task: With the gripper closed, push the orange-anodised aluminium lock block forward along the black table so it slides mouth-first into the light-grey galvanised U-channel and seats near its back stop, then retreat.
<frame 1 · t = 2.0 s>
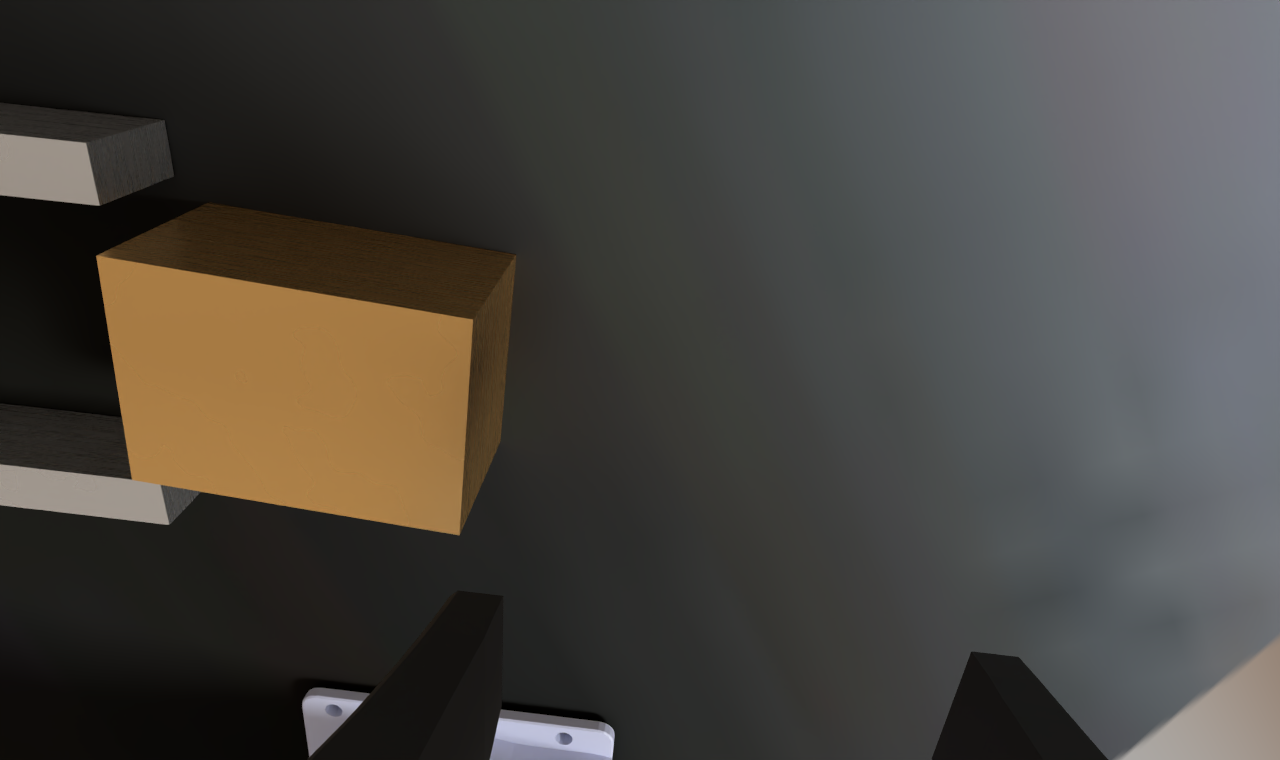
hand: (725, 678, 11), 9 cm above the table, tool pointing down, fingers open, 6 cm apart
lock block: (365, 326, 20), on the table
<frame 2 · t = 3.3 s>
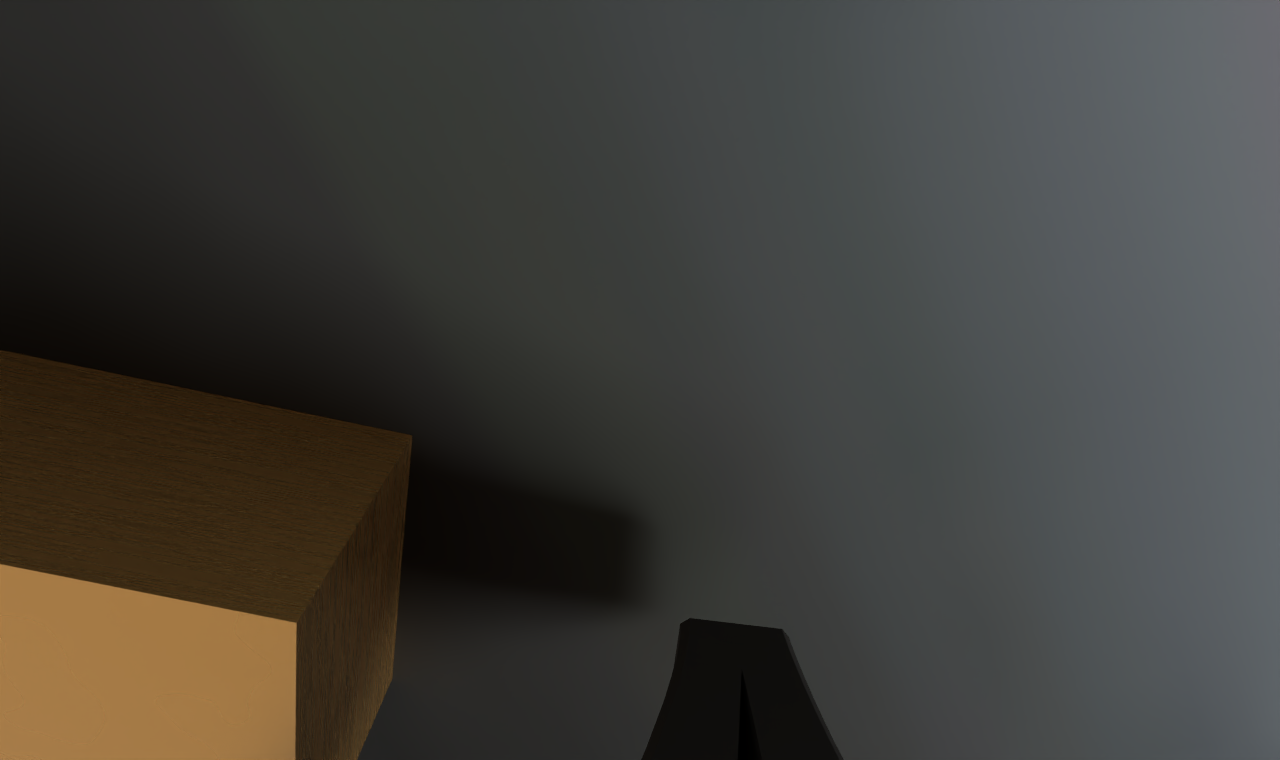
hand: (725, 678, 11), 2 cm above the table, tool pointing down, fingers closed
lock block: (188, 516, 13), on the table
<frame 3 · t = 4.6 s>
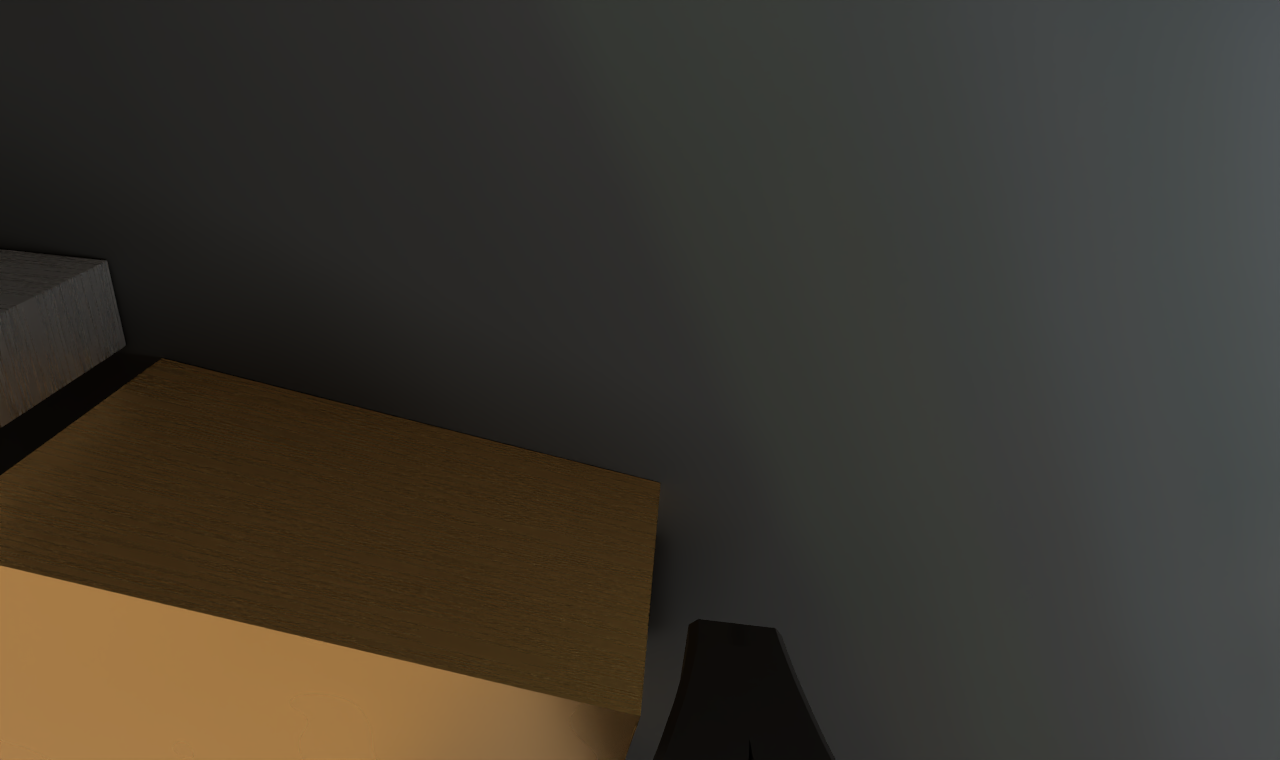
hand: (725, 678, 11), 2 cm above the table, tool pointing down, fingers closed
lock block: (395, 558, 12), on the table, touching gripper
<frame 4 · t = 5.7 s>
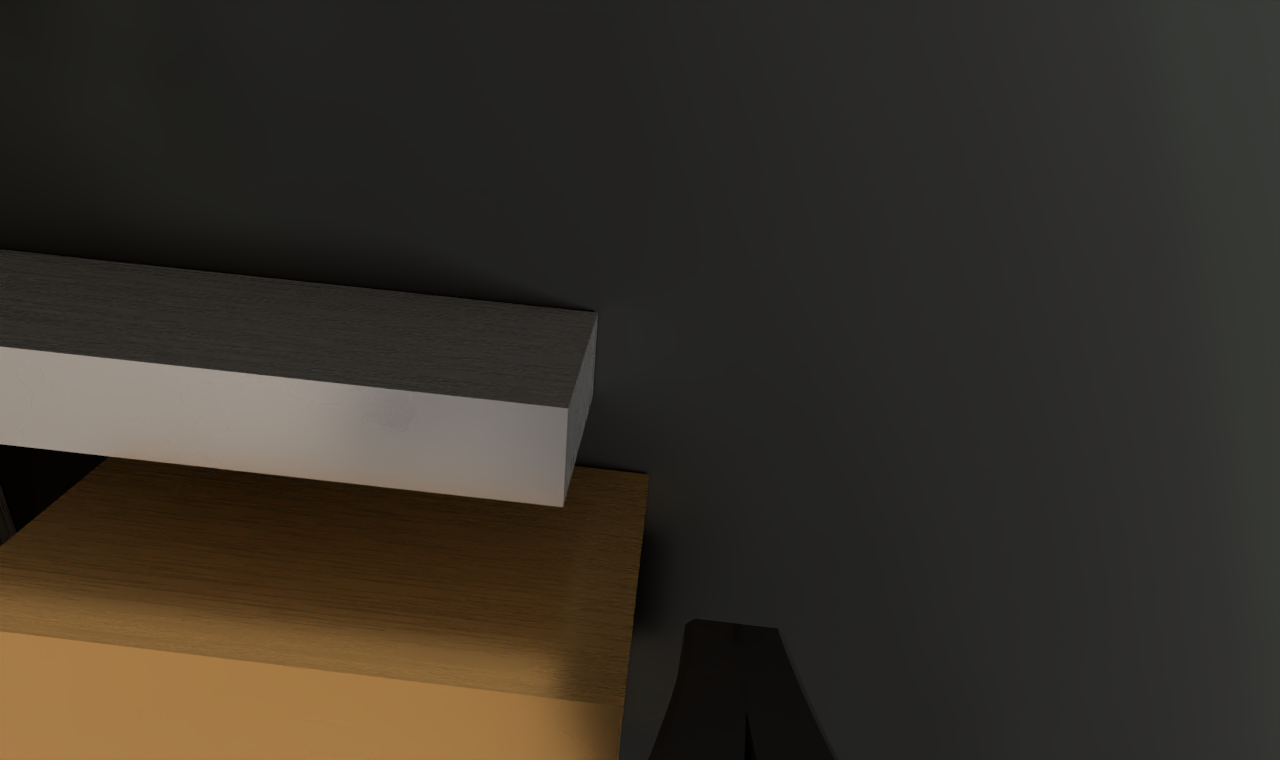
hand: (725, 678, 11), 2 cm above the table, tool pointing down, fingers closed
coupler channel: (254, 547, 13), on the table
lock block: (408, 584, 13), on the table, touching gripper
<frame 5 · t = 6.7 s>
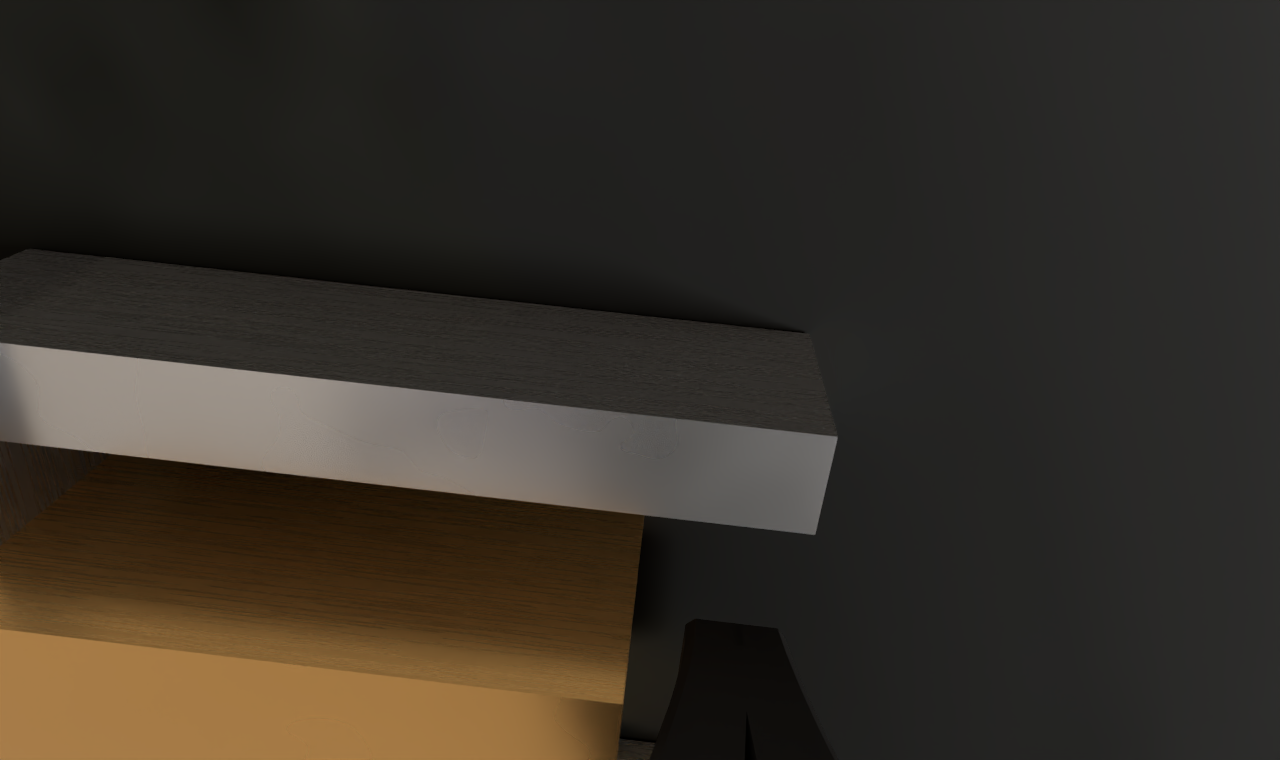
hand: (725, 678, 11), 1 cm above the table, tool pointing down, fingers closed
coupler channel: (425, 565, 12), on the table
lock block: (408, 582, 13), on the table, touching coupler channel, gripper
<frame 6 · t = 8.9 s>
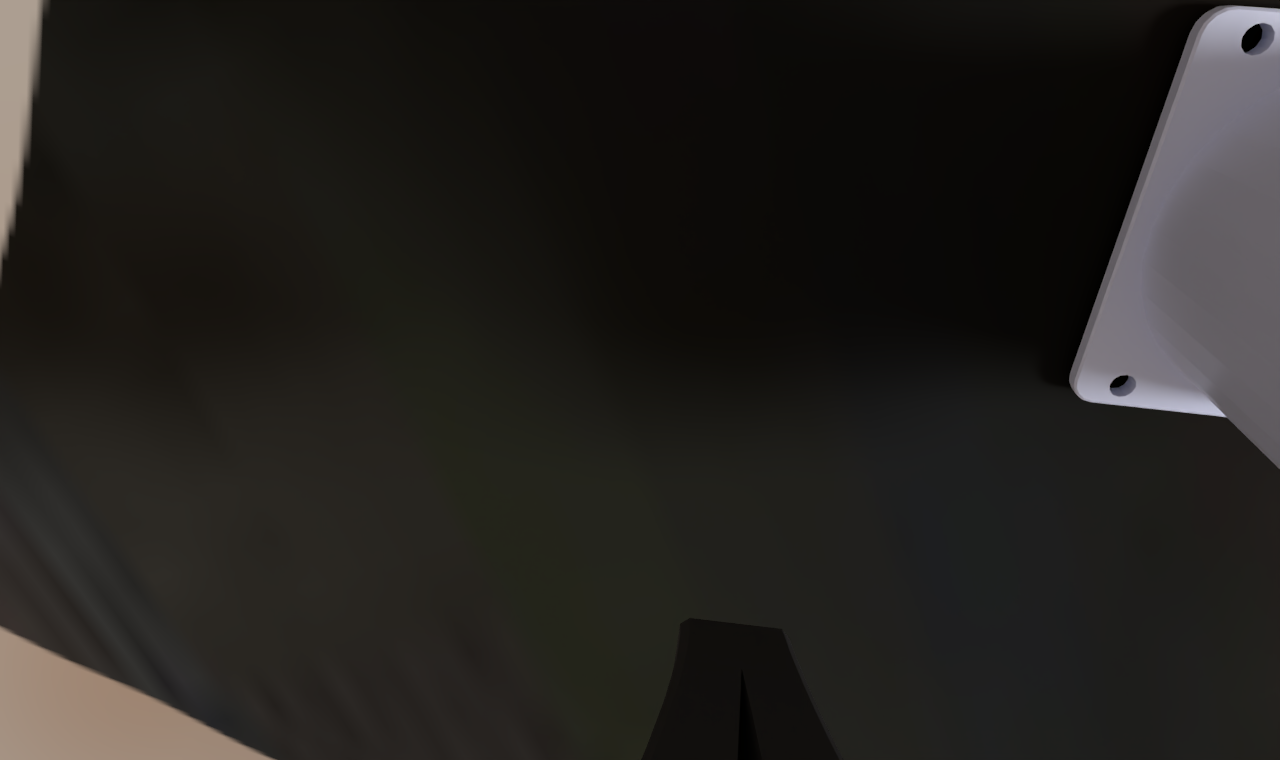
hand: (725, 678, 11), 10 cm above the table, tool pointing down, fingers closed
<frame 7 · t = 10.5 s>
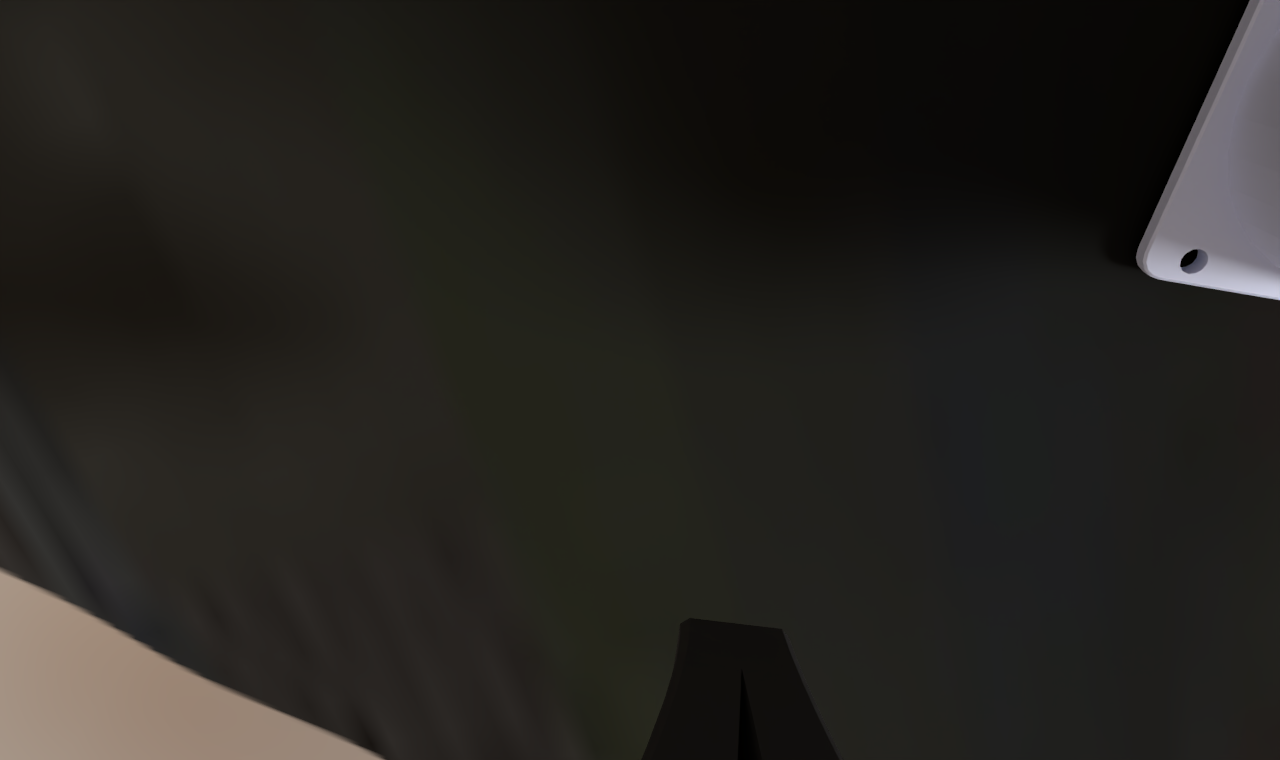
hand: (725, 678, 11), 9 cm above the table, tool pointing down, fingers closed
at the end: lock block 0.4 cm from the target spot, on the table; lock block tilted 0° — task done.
